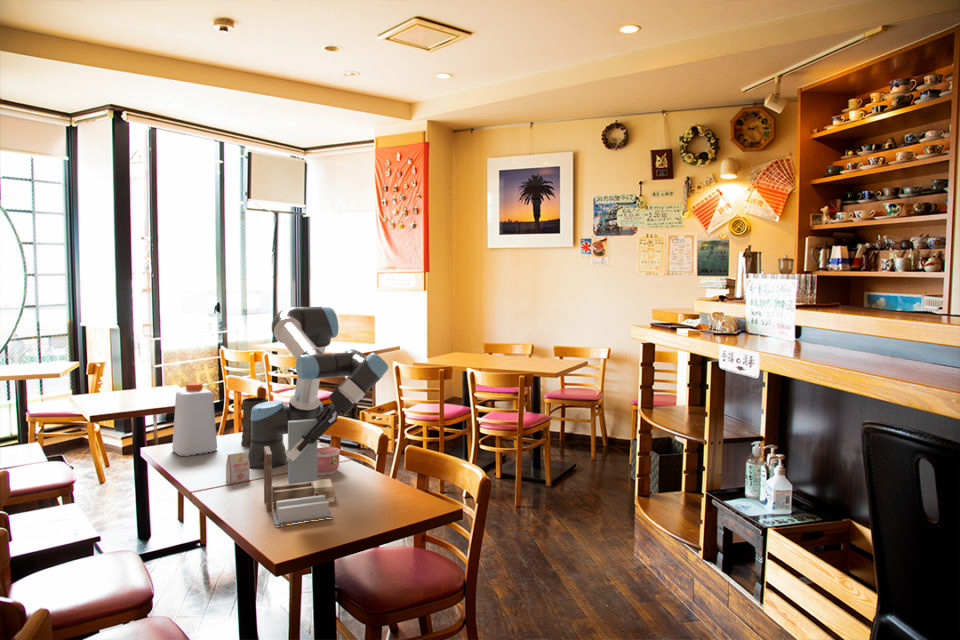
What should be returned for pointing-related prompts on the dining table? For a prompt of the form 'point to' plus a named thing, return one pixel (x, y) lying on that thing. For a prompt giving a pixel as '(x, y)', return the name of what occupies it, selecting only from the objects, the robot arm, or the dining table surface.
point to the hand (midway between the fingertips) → (288, 456)
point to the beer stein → (248, 418)
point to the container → (327, 460)
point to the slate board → (307, 460)
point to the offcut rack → (292, 486)
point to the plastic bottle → (194, 421)
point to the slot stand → (301, 510)
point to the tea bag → (237, 468)
